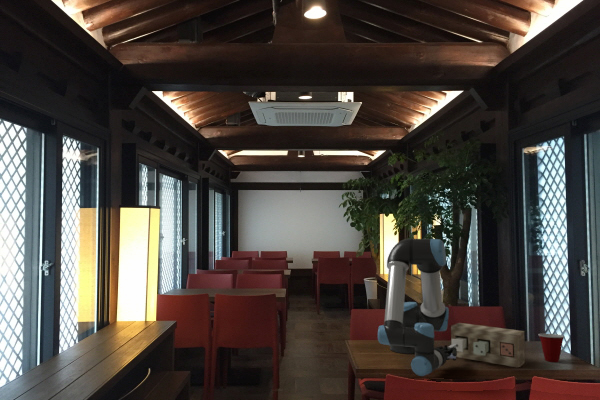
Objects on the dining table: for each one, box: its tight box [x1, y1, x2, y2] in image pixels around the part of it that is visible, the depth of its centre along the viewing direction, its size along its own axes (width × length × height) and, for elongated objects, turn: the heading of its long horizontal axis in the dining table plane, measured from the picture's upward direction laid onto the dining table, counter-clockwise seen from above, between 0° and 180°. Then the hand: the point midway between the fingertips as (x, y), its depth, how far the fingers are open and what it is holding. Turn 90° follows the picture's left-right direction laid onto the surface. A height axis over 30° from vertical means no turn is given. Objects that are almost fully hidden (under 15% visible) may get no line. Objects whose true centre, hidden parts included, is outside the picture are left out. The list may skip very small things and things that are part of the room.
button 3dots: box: [501, 343, 514, 356], centre depth 210 cm, size 5×8×5 cm, turn 142°
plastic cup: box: [538, 333, 565, 363], centre depth 215 cm, size 11×11×12 cm
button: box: [452, 337, 467, 352], centre depth 217 cm, size 5×8×5 cm, turn 142°
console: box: [450, 322, 526, 368], centre depth 217 cm, size 30×10×14 cm, turn 52°
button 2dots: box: [473, 340, 489, 356], centre depth 211 cm, size 5×8×5 cm, turn 142°
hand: (454, 347), depth 211 cm, fingers closed
